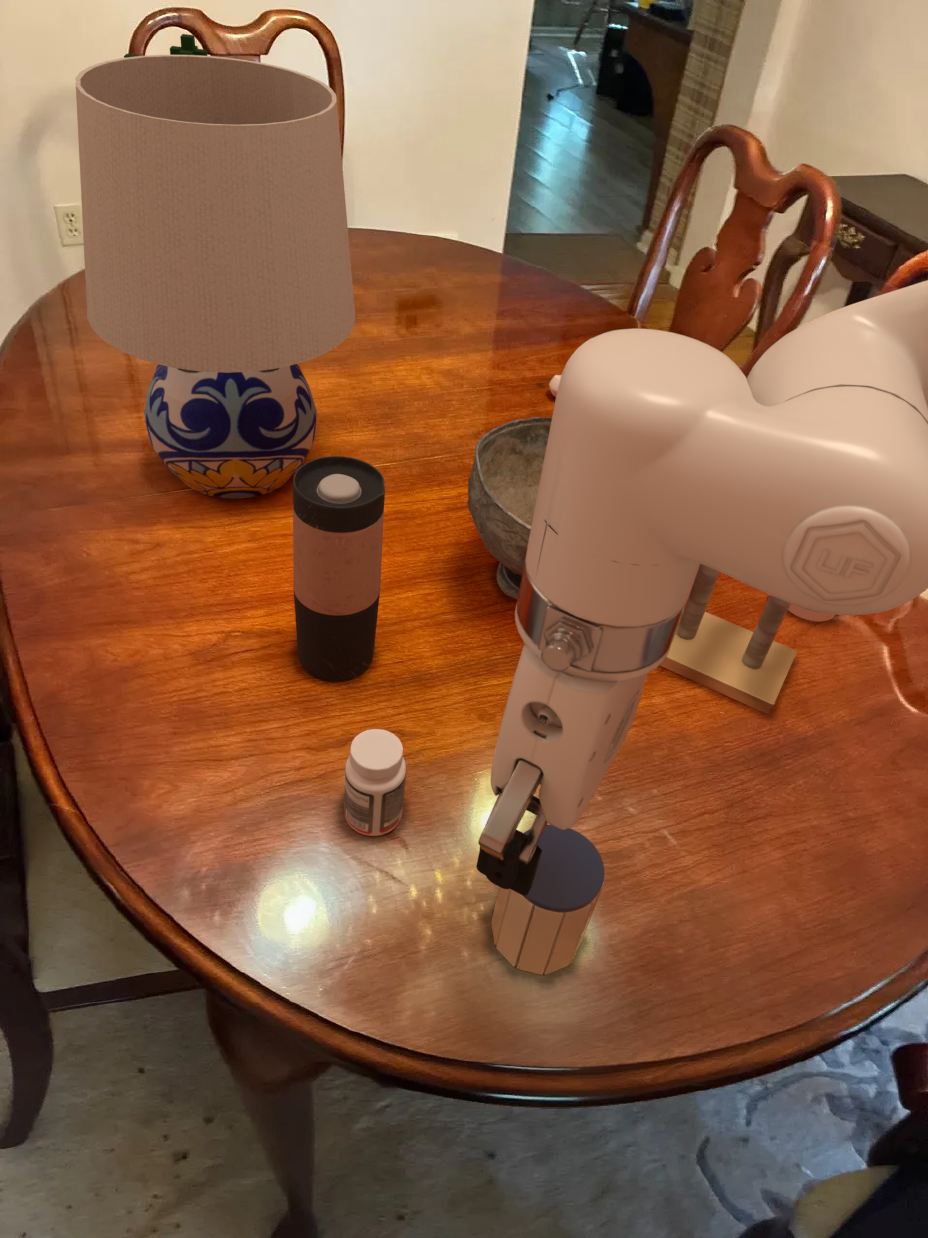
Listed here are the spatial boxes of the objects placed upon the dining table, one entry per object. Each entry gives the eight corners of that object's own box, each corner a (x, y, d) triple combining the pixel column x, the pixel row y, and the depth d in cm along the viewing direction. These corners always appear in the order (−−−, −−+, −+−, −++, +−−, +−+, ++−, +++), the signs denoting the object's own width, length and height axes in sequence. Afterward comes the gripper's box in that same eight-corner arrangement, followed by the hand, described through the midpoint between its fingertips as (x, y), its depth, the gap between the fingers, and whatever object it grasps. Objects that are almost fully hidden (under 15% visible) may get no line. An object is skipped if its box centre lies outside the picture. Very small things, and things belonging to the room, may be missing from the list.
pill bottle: (398, 787, 78) (404, 722, 72) (405, 835, 74) (412, 770, 69) (341, 791, 77) (343, 725, 71) (346, 840, 73) (348, 774, 68)
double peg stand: (792, 661, 95) (834, 575, 87) (768, 715, 88) (811, 628, 81) (665, 606, 99) (694, 519, 91) (634, 654, 93) (663, 566, 85)
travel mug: (278, 652, 88) (271, 475, 74) (339, 617, 92) (343, 444, 79) (331, 697, 84) (334, 520, 71) (392, 658, 89) (406, 485, 75)
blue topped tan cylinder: (593, 918, 71) (620, 852, 64) (555, 992, 66) (580, 928, 60) (517, 876, 73) (536, 808, 66) (475, 944, 68) (491, 878, 62)
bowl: (523, 671, 89) (549, 550, 79) (423, 556, 101) (435, 437, 90) (674, 612, 98) (715, 496, 88) (566, 512, 109) (592, 399, 99)
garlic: (572, 407, 128) (574, 393, 132) (577, 385, 126) (579, 372, 130) (536, 399, 128) (540, 385, 132) (541, 377, 126) (545, 364, 130)
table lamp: (106, 540, 97) (26, 123, 70) (121, 406, 116) (63, 39, 89) (364, 530, 103) (381, 142, 76) (338, 405, 122) (344, 60, 95)
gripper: (602, 760, 36) (534, 970, 47) (729, 539, 48) (649, 750, 59) (436, 680, 38) (409, 899, 50) (596, 488, 50) (544, 701, 61)
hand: (540, 818), depth 54 cm, fingers open, 9 cm apart
